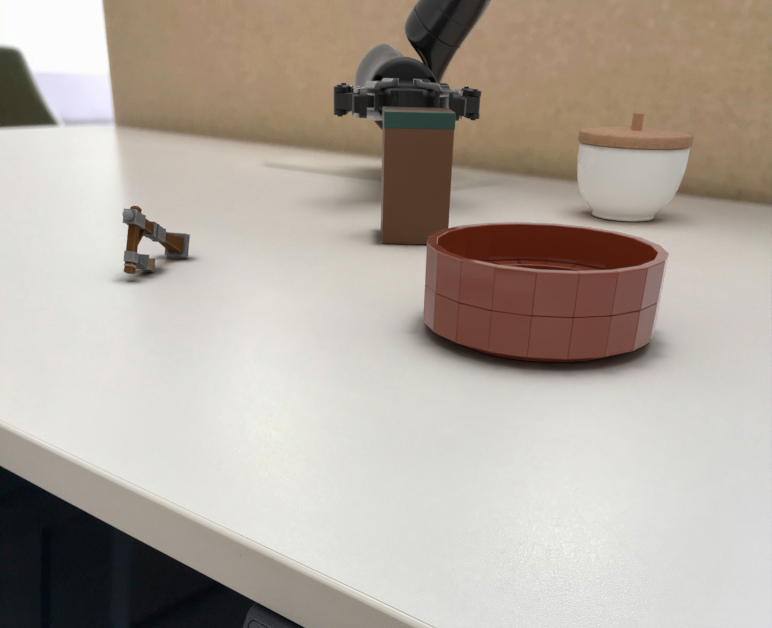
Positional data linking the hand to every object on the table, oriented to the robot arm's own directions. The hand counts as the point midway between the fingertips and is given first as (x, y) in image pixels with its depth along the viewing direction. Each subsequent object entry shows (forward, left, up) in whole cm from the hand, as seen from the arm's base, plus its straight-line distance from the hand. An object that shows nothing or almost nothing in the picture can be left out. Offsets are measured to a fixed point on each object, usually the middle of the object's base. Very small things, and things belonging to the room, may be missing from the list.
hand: (410, 106), depth 75 cm
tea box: (+7, +7, -10) cm, 14 cm away
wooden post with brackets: (+29, +1, -10) cm, 31 cm away
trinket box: (-17, +15, -10) cm, 24 cm away
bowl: (+23, +29, -10) cm, 38 cm away
